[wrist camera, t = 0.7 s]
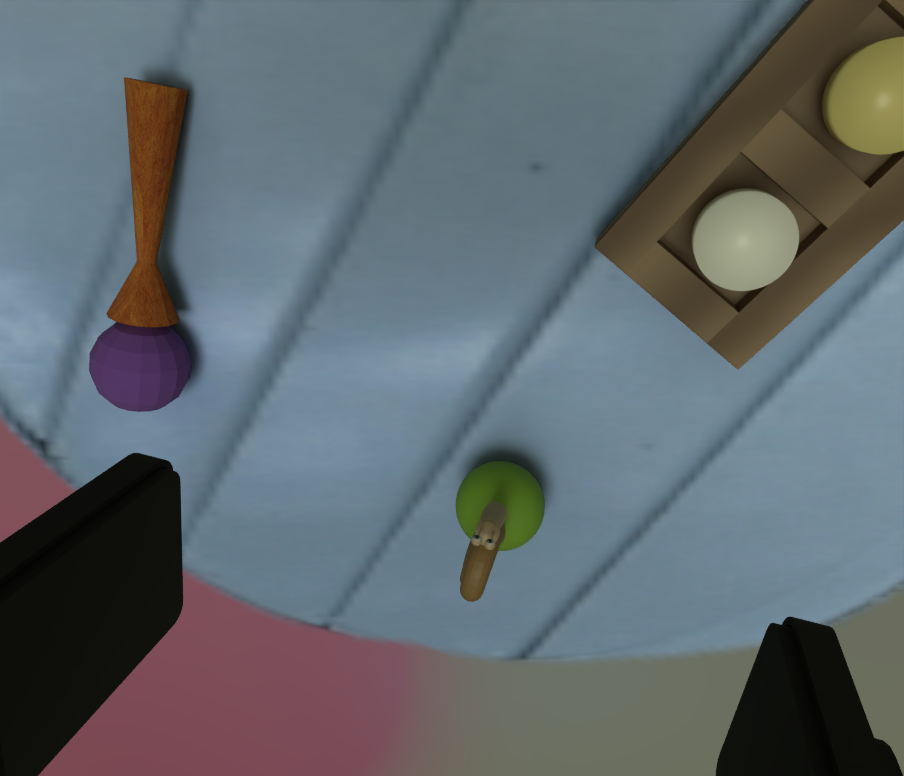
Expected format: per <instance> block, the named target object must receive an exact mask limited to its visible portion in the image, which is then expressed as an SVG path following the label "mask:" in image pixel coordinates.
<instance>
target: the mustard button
mask: <svg viewBox="0 0 904 776" xmlns="http://www.w3.org/2000/svg"><path fill="white" fill-rule="evenodd" d="M822 114H823V119H824V122H825V125H826V127H827V129H828V131H829V132H830V134H831V135H832V136H833V137H834V138H835V139H836V140H837V141H838V142H839V143H840V144H842V145H844V146H846V147H848V148H850V149H853V150H857V151H861V152H865V153H870V154H878V155H882V154H892V153H897V152H900V151H904V37H896V38H891V39H886V40H882V41H878V42H874V43H871V44H868V45H866V46H864V47H861V48H859V49H858V50H856V51H854V52H853V53H852V54H850V55H849V56H848V57H846V58H845V59H844V60H843V61H842V62H841V63H840V64H839V65H838V67H837V68H836V69H835V70H834V72H833V73H832V75H831V77H830V78H829V80H828V82H827V85H826V87H825V90H824V94H823V99H822Z"/></svg>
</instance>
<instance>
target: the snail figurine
mask: <svg viewBox="0 0 904 776" xmlns="http://www.w3.org/2000/svg"><path fill="white" fill-rule="evenodd" d="M544 509H545V504H544V497H543V493H542V490H541V488H540V486H539V484H538V482H537V481H536V479H535V478H534V477H533V476H532V475H531V474H530V473H529V472H528V471H527V470H526V469H524V468H523V467H521V466H519V465H517V464H514V463H511V462H505V461H494V462H489V463H486V464H483V465H481V466H479V467H477V468H475V469H474V470H473V471H471V472H470V473H469V474H468V475H467V476H466V478H465V479H464V480H463V482H462V484H461V485H460V488H459V490H458V493H457V497H456V514H457V518H458V521H459V524H460V526H461V528H462V529H463V531H464V532H465V534H466V535H467V536H468V537H469V538H470V539H471V541H470V543H469V546H468V549H467V552H466V555H465V559H464V563H463V568H462V572H461V576H460V582H461V586H460V593H461V595H462V597H463V598H464V599H465V600H467V601H471V602H473V601H476V600H478V599H479V598H480V597H481V596H482V594H483V592H484V589H485V586H486V583H487V580H488V577H489V575H490V572H491V569H492V566H493V563H494V560H495V558H496V555H497V552H498V551H507V550H512V549H515V548H518V547H520V546H522V545H523V544H525V543H526V542H528V541H529V540H530V539H531V538H532V537H533V536H534V535H535V534H536V532H537V531H538V529H539V527H540V525H541V523H542V520H543V516H544Z"/></svg>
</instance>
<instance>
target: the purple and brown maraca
mask: <svg viewBox="0 0 904 776" xmlns="http://www.w3.org/2000/svg"><path fill="white" fill-rule="evenodd" d="M124 83H125V97H126V111H127V125H128V139H129V153H130V167H131V182H132V196H133V210H134V224H135V238H136V252H137V262H136V264H135V266H134V267H133V269H132V271H131V272H130V274H129V276H128V278H127V279H126V281H125V283H124V284H123V286H122V288H121V290H120V291H119V293H118V295H117V296H116V298H115V300H114V302H113V303H112V305H111V307H110V308H109V310H108V312H107V315H108V318H110V319H112V320H114V321H116V323H115V324H114V325H112V326H111V327H110V328H108V329H107V330H106V331H104V332H103V333H102V334H101V335H100V336H99V337H98V339H97V341H96V342H95V344H94V346H93V348H92V350H91V352H90V363H89V371H90V374H91V377H92V379H93V381H94V384H95V386H96V388H97V390H98V392H99V394H101V395H102V396H103V397H104V398H106V399H107V400H108V401H109V402H111V403H112V404H113V405H115V406H116V407H118V408H121V409H124V410H129V411H138V412H141V411H153V410H157V409H160V408H162V407H164V406H166V405H167V404H169V403H170V402H172V401H173V400H174V399H176V398H177V397H179V395H180V393H181V391H182V390H183V388H184V386H185V384H186V383H187V381H188V379H189V377H190V366H191V358H190V356H189V353H188V350H187V348H186V345H185V343H184V341H183V340H182V338H181V337H180V336H179V335H178V334H177V333H176V332H175V331H174V330H173V329H172V328H171V327H169V326H171V325H174V324H177V323H178V322H179V320H180V319H179V316H178V314H177V312H176V309H175V307H174V304H173V302H172V300H171V297H170V295H169V292H168V290H167V288H166V285H165V283H164V280H163V278H162V275H161V273H160V271H159V268H158V266H157V257H158V252H159V246H160V241H161V235H162V230H163V224H164V219H165V213H166V208H167V202H168V197H169V191H170V186H171V180H172V175H173V169H174V164H175V158H176V153H177V147H178V142H179V136H180V131H181V125H182V120H183V114H184V109H185V103H186V98H187V92H188V90H185V89H180V88H176V87H171V86H166V85H162V84H157V83H152V82H147V81H142V80H136V79H131V78H124Z"/></svg>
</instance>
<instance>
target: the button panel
mask: <svg viewBox="0 0 904 776" xmlns="http://www.w3.org/2000/svg"><path fill="white" fill-rule="evenodd" d="M896 37H904V0H808V1H807V2H806V3H805V4H804V5H803V7H802V8H801V9H800V10H799V11H798V12H797V13H796V15H795V16H794V17H793V18H792V19H791V20H790V21H789V22H788V24H787V25H786V26H785V27H784V28H783V29H782V30H781V31H780V33H779V34H778V35H777V36H776V37H775V38H774V39H773V40H772V42H771V43H770V44H769V45H768V46H767V47H766V48H765V49H764V51H763V52H762V53H761V54H760V55H759V56H758V57H757V59H756V60H755V61H754V62H753V63H752V64H751V65H750V66H749V68H748V69H747V70H746V71H745V72H744V73H743V74H742V75H741V77H740V78H739V79H738V80H737V81H736V82H735V83H734V84H733V86H732V87H731V88H730V89H729V90H728V91H727V92H726V94H725V95H724V96H723V97H722V98H721V99H720V100H719V101H718V103H717V104H716V105H715V106H714V107H713V108H712V109H711V110H710V112H709V113H708V114H707V115H706V116H705V117H704V118H703V119H702V121H701V122H700V123H699V124H698V125H697V126H696V127H695V128H694V130H693V131H692V132H691V133H690V134H689V135H688V136H687V138H686V139H685V140H684V141H683V142H682V143H681V144H680V145H679V147H678V148H677V149H676V150H675V151H674V152H673V153H672V154H671V156H670V157H669V158H668V159H667V160H666V161H665V162H664V163H663V165H662V166H661V167H660V168H659V169H658V170H657V171H656V172H655V174H654V175H653V176H652V177H651V178H650V179H649V180H648V182H647V183H646V184H645V185H644V186H643V187H642V188H641V189H640V191H639V192H638V193H637V194H636V195H635V196H634V197H633V198H632V200H631V201H630V202H629V203H628V204H627V205H626V206H625V207H624V209H623V210H622V211H621V212H620V213H619V214H618V215H617V217H616V218H615V219H614V220H613V221H612V222H611V223H610V224H609V226H608V227H607V228H606V229H605V230H604V231H603V232H602V233H601V235H600V236H599V237H598V238H597V240H596V243H595V248H596V249H597V250H599V251H600V252H601V253H602V254H603V255H604V256H606V257H607V258H608V259H609V260H610V261H611V262H613V263H614V264H615V265H616V266H617V267H618V268H620V269H621V270H622V271H623V272H624V273H625V274H627V275H628V276H629V277H630V278H631V279H632V280H634V281H635V282H636V283H637V284H638V285H639V286H641V287H642V288H643V289H644V290H645V291H646V292H648V293H649V294H650V295H651V296H652V297H653V298H655V299H656V300H657V301H658V302H659V303H660V304H662V305H663V306H664V307H665V308H666V309H667V310H669V311H670V312H671V313H672V314H673V315H674V316H676V317H677V318H678V319H679V320H680V321H681V322H683V323H684V324H685V325H686V326H687V327H689V328H690V329H691V330H692V331H693V332H694V333H696V334H697V335H698V336H699V337H700V338H701V339H703V340H704V341H705V342H706V343H707V344H708V345H710V346H711V347H712V348H713V349H714V350H715V351H717V352H718V353H719V354H720V355H721V356H722V357H724V358H725V359H726V360H727V361H728V362H729V363H731V364H732V365H733V366H734V367H735V368H736V369H739V368H741V367H742V366H743V365H744V364H745V363H746V362H747V361H748V360H749V359H751V358H752V357H753V356H754V355H755V354H756V353H757V352H758V351H759V350H760V349H762V348H763V347H764V346H765V345H766V344H767V343H768V342H769V341H770V340H772V339H773V338H774V337H775V336H776V335H777V334H778V333H779V332H780V331H781V330H783V329H784V328H785V327H786V326H787V325H788V324H789V323H790V322H791V321H793V320H794V319H795V318H796V317H797V316H798V315H799V314H800V313H801V312H802V311H804V310H805V309H806V308H807V307H808V306H809V305H810V304H811V303H812V302H814V301H815V300H816V299H817V298H818V297H819V296H820V295H821V294H822V293H824V292H825V291H826V290H827V289H828V288H829V287H830V286H831V285H832V284H833V283H835V282H836V281H837V280H838V279H839V278H840V277H841V276H842V275H843V274H845V273H846V272H847V271H848V270H849V269H850V268H851V267H852V266H853V265H854V264H856V263H857V262H858V261H859V260H860V259H861V258H862V257H863V256H864V255H866V254H867V253H868V252H869V251H870V250H871V249H872V248H873V247H874V246H875V245H877V244H878V243H879V242H880V241H881V240H882V239H883V238H884V237H885V236H887V235H888V234H889V233H890V232H891V231H892V230H893V229H894V228H895V227H897V226H898V225H899V224H900V223H901V222H902V221H903V220H904V151H900V152H897V153H892V154H882V155H878V154H870V153H865V152H861V151H857V150H853V149H850V148H848V147H846V146H844V145H842V144H840V143H839V142H838V141H837V140H836V139H835V138H834V137H833V136H832V135H831V134H830V132H829V131H828V129H827V127H826V125H825V122H824V119H823V114H822V99H823V94H824V90H825V87H826V85H827V82H828V80H829V78H830V77H831V75H832V73H833V72H834V70H835V69H836V68H837V67H838V65H839V64H840V63H841V62H842V61H843V60H844V59H845V58H846V57H848V56H849V55H850V54H852V53H853V52H854V51H856V50H858V49H859V48H861V47H864V46H866V45H868V44H871V43H874V42H878V41H882V40H886V39H891V38H896ZM740 188H753V189H758V190H762V191H765V192H767V193H769V194H771V195H773V196H774V197H775V198H777V199H778V200H780V201H781V202H782V203H784V204H785V205H786V206H787V207H788V208H789V209H790V211H791V212H792V214H793V215H794V217H795V219H796V222H797V225H798V230H799V245H798V249H797V253H796V255H795V258H794V259H793V261H792V263H791V265H790V266H789V267H788V269H787V270H786V271H785V272H784V273H783V274H782V275H781V276H780V277H779V278H778V279H776V280H775V281H773V282H772V283H770V284H768V285H766V286H764V287H761V288H758V289H754V290H749V291H733V290H728V289H725V288H722V287H720V286H718V285H716V284H714V283H713V282H711V281H710V280H709V279H708V278H707V277H706V276H705V275H704V274H703V273H702V271H701V270H700V268H699V266H698V264H697V261H696V259H695V256H694V253H693V249H692V242H691V238H692V230H693V226H694V223H695V221H696V219H697V217H698V215H699V214H700V212H701V211H702V209H703V208H704V207H705V206H706V205H707V204H708V203H709V202H710V201H711V200H713V199H714V198H715V197H717V196H719V195H721V194H723V193H725V192H727V191H730V190H734V189H740Z"/></svg>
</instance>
